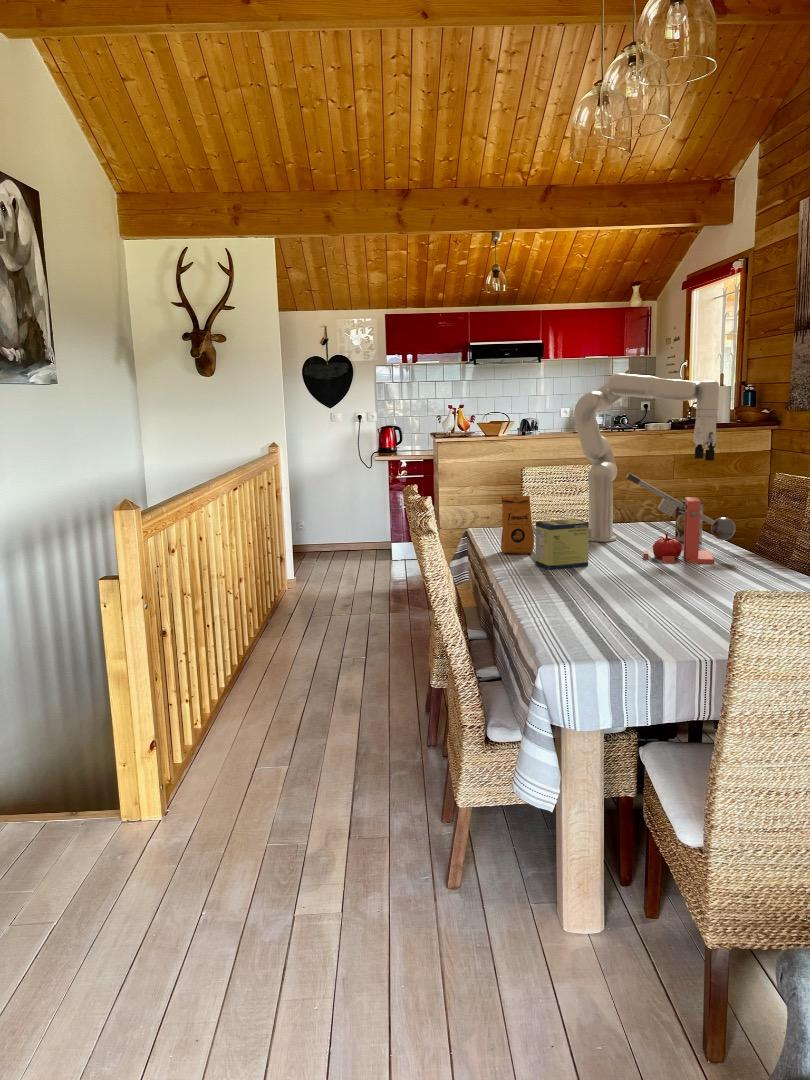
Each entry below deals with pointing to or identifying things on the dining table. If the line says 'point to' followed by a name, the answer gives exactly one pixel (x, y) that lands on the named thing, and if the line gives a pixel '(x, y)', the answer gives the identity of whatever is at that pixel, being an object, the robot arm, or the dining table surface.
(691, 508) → the press stand
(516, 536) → the coffee package
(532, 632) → the dining table surface
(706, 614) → the dining table surface
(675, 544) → the pomegranate
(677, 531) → the coffee box
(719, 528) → the lever
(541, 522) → the protein box
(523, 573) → the dining table surface
